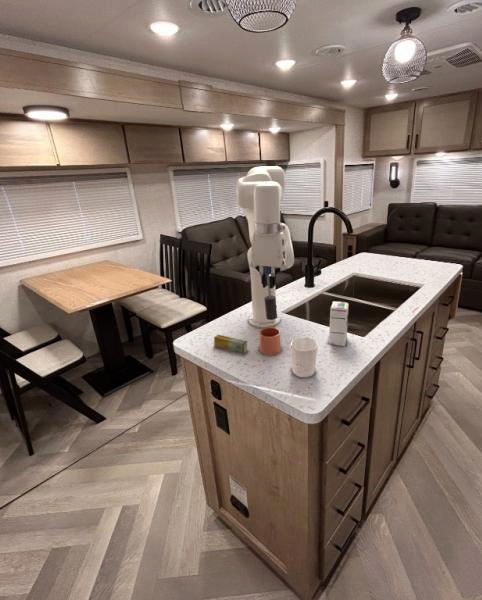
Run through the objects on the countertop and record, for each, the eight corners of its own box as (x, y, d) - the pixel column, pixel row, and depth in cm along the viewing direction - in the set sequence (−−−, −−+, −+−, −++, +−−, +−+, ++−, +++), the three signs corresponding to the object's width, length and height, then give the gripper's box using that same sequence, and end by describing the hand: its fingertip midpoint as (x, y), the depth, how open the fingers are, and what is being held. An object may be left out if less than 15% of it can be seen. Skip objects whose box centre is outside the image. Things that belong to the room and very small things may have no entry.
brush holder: (264, 343, 115) (263, 325, 112) (283, 346, 113) (283, 328, 110) (256, 353, 109) (256, 335, 106) (276, 357, 106) (276, 338, 104)
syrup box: (345, 346, 112) (348, 308, 106) (328, 344, 114) (330, 307, 108) (346, 338, 117) (349, 302, 111) (330, 336, 119) (332, 300, 113)
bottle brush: (268, 314, 107) (263, 253, 99) (278, 315, 105) (274, 253, 98) (264, 319, 103) (258, 255, 96) (274, 320, 102) (269, 256, 95)
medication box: (247, 351, 110) (247, 340, 109) (244, 354, 108) (244, 344, 107) (217, 344, 115) (217, 333, 113) (213, 347, 112) (213, 336, 111)
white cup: (314, 363, 103) (315, 336, 99) (318, 379, 95) (319, 350, 91) (289, 364, 102) (289, 337, 99) (291, 379, 95) (292, 351, 91)
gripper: (296, 227, 95) (296, 285, 102) (248, 225, 100) (250, 280, 107) (289, 232, 88) (289, 293, 96) (237, 229, 94) (241, 288, 101)
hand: (269, 286), depth 101 cm, fingers closed on bottle brush
